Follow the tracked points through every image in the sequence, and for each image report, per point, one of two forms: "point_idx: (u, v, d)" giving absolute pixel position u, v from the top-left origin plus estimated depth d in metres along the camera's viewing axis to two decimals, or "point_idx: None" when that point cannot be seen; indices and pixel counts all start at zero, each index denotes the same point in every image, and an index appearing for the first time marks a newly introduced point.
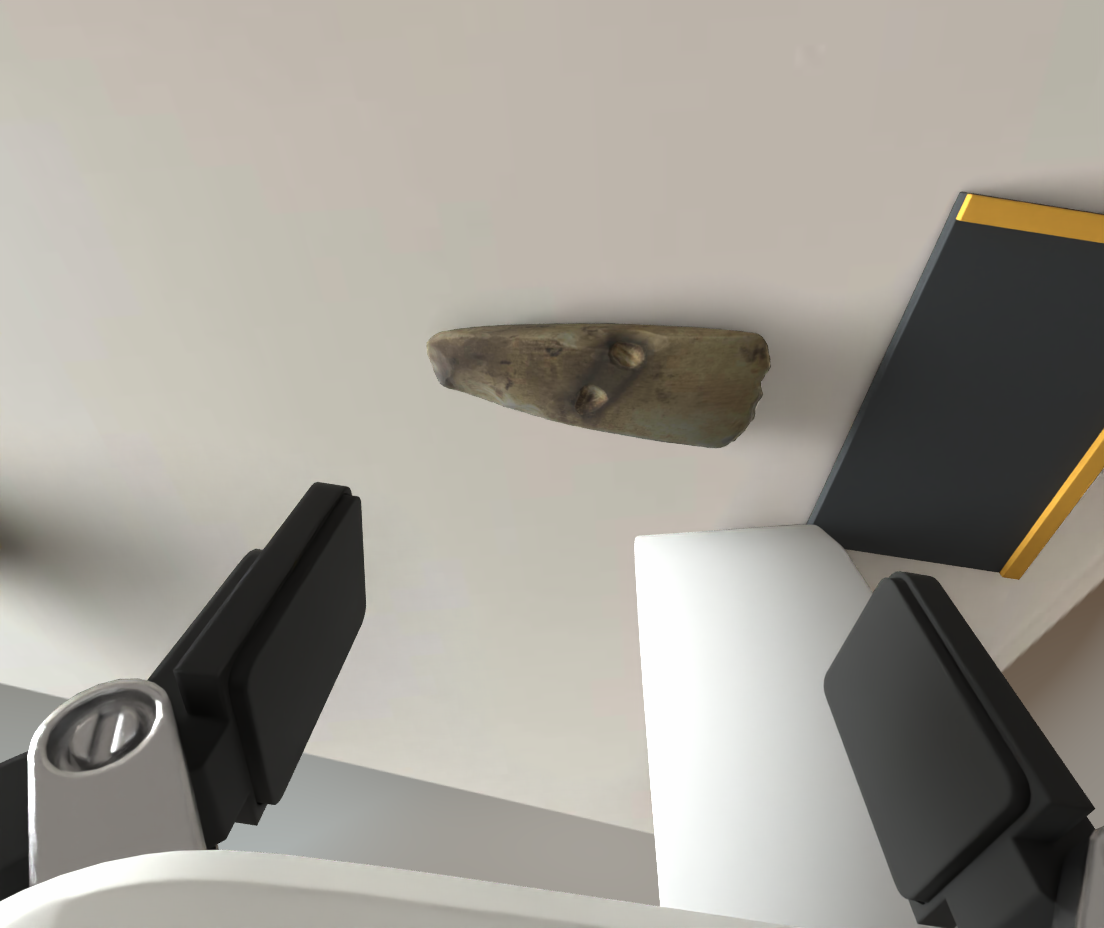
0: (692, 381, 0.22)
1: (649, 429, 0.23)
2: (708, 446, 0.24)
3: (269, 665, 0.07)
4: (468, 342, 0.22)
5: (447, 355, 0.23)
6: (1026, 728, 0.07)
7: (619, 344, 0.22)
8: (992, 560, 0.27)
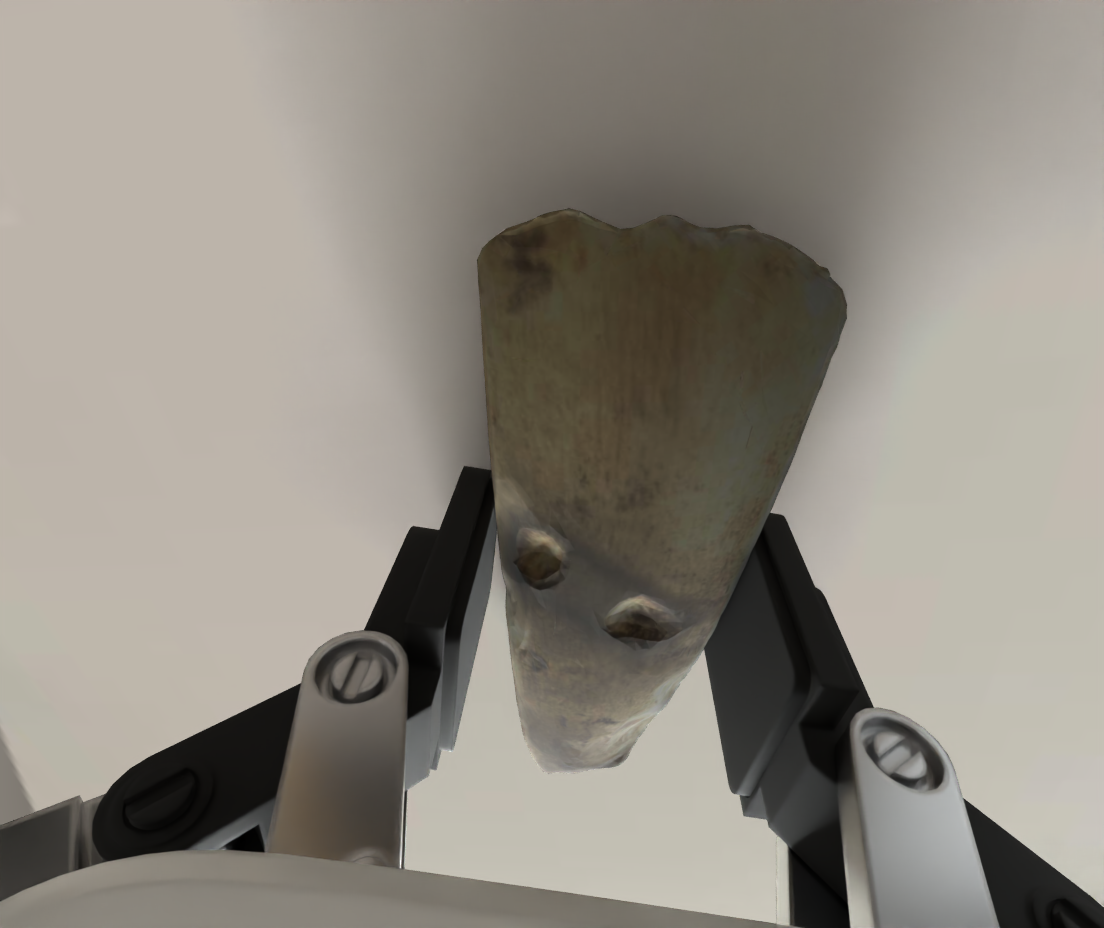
0: (599, 433, 0.08)
1: (740, 508, 0.09)
2: (830, 345, 0.08)
3: (466, 622, 0.08)
4: (535, 745, 0.13)
5: (558, 769, 0.14)
6: (820, 631, 0.08)
7: (521, 560, 0.10)
8: None
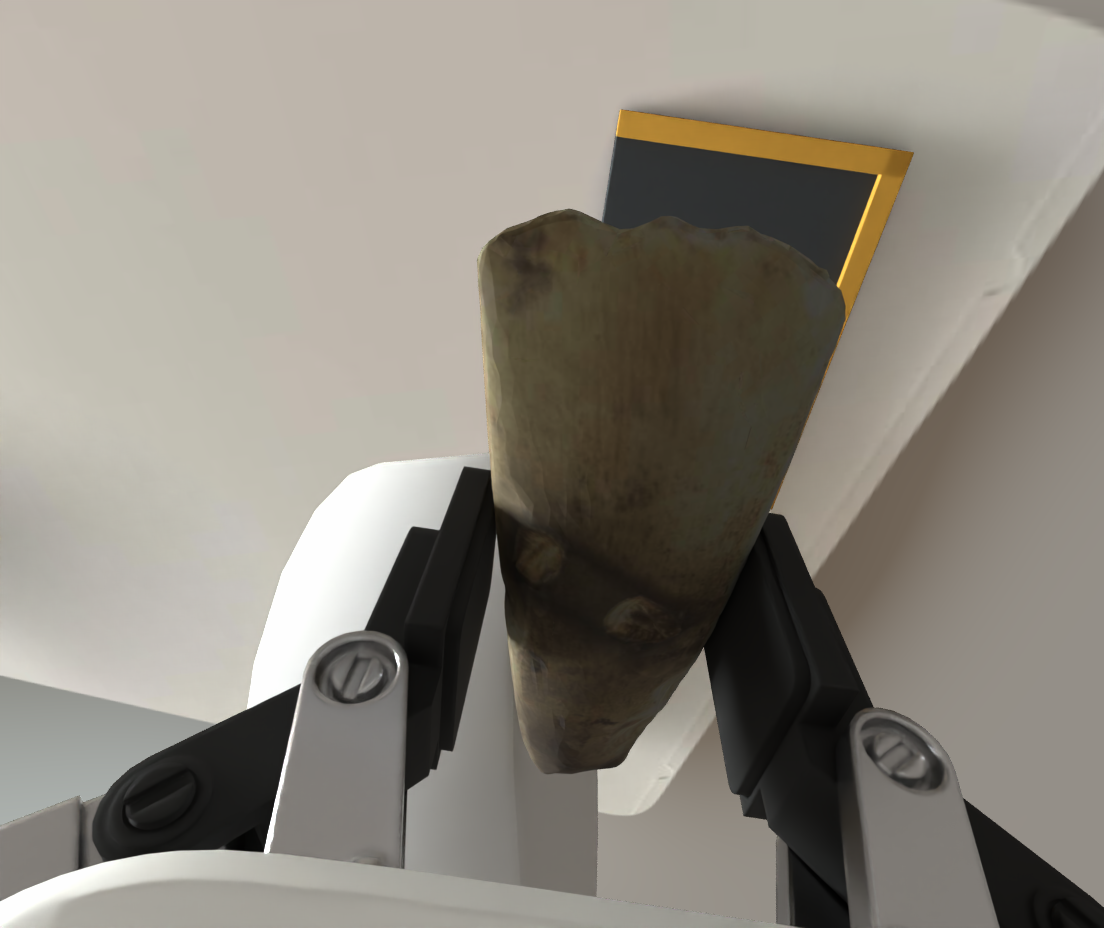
0: (599, 433, 0.08)
1: (739, 508, 0.09)
2: (830, 346, 0.08)
3: (466, 622, 0.08)
4: (533, 745, 0.13)
5: (557, 769, 0.14)
6: (821, 631, 0.08)
7: (520, 560, 0.10)
8: None
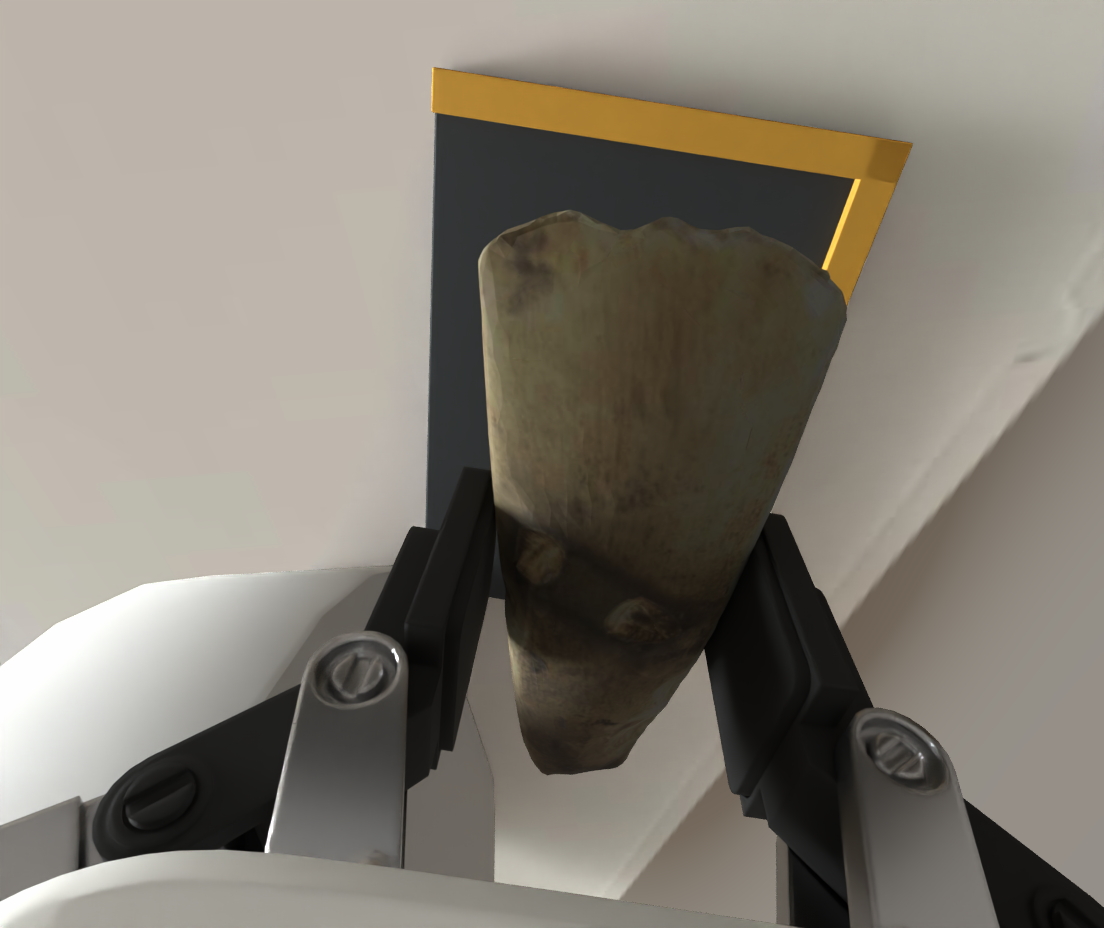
0: (599, 434, 0.08)
1: (740, 509, 0.09)
2: (831, 347, 0.08)
3: (466, 623, 0.08)
4: (534, 746, 0.13)
5: (557, 770, 0.14)
6: (821, 631, 0.08)
7: (520, 561, 0.10)
8: None
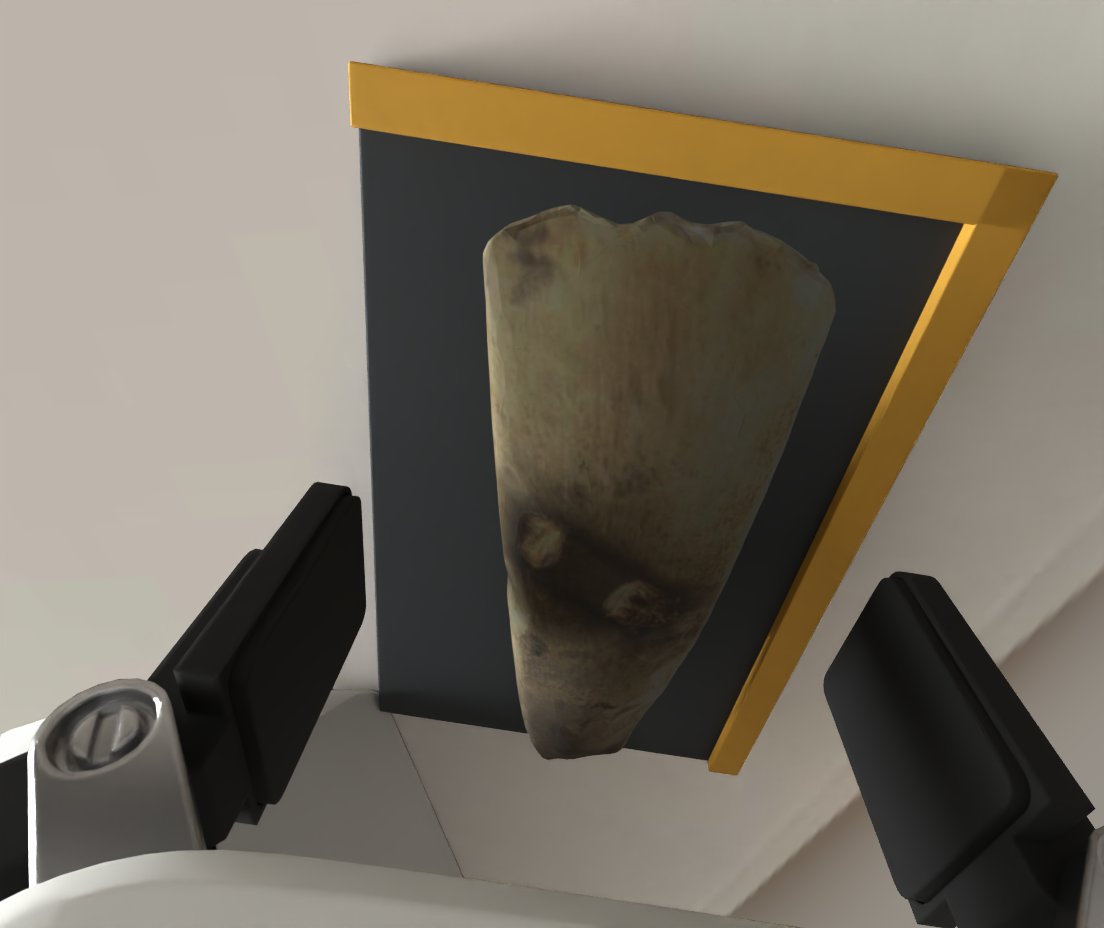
0: (598, 420, 0.09)
1: (734, 495, 0.09)
2: (820, 337, 0.08)
3: (269, 665, 0.07)
4: (535, 730, 0.14)
5: (557, 754, 0.14)
6: (1026, 728, 0.07)
7: (522, 545, 0.10)
8: (690, 744, 0.16)
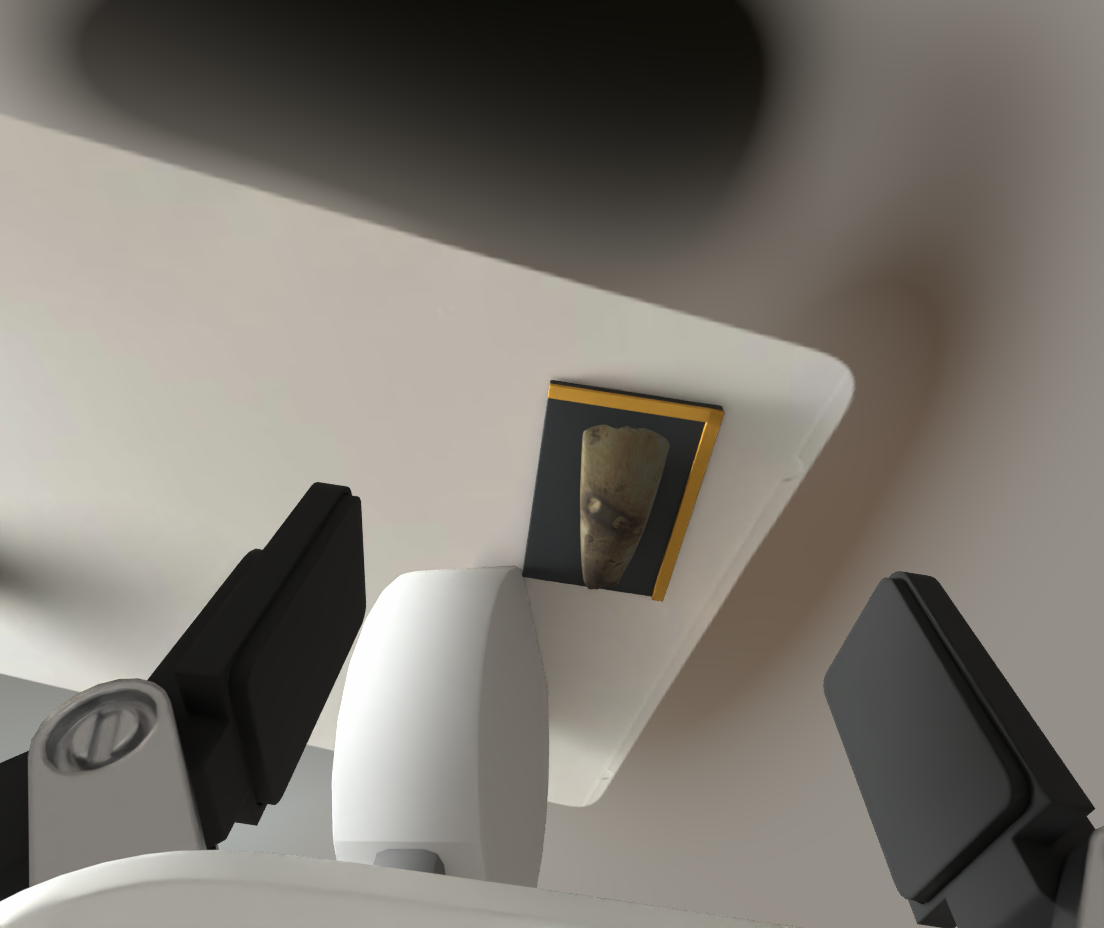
0: (610, 472, 0.34)
1: (647, 491, 0.35)
2: (666, 452, 0.33)
3: (269, 665, 0.07)
4: (587, 574, 0.39)
5: (594, 584, 0.39)
6: (1026, 728, 0.07)
7: (588, 506, 0.36)
8: (644, 588, 0.41)
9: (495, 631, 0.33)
